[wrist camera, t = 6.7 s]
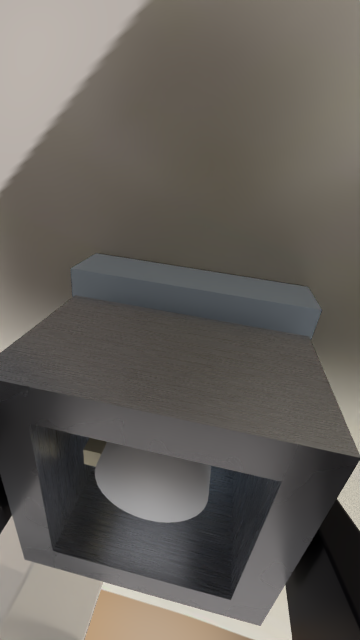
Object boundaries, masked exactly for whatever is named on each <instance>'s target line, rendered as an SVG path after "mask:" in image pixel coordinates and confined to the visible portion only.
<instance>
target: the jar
mask: <svg viewBox="0 0 360 640" xmlns="http://www.w3.org/2000/svg"><path fill="white" fill-rule="evenodd" d="M102 584H103V582H102V581H99V580H95V579H92V578H88V577H85V576H81V575H78V574H74V573H70V572H67V571H63V570H60V569H56V568H53V567H49V566H46V565H42V564H38V563H35V562H31V561H28V560H25V559H24V556H23V552H22V549H21V545H20V542H19V538H18V535H17V531H16V528H15V524H14V520H13V517H12V516H11V518H10V519H9V521H8V523H7V524H6V526H5V527H4V529H3V531H2V532H1V534H0V640H85V636H86V633H87V630H88V627H89V624H90V621H91V618H92V615H93V612H94V609H95V606H96V602H97V600H98V596H99V593H100V590H101V587H102Z"/></svg>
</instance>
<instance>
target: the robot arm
mask: <svg viewBox="0 0 360 640" xmlns="http://www.w3.org/2000/svg"><path fill="white" fill-rule="evenodd" d="M11 516H12V513H11V510H10V506H9V503H8V499H7V496H6V492H5V489H4V485H3V482H2V478H1V475H0V534H1V532H2V531H3V529H4V527H5V526H6V524H7V523H8V521H9V519H10V518H11ZM285 585H286V593H287V601H288V609H289V617H290V624H291V632H292V640H360V531H359V529H358V528H357V526H356V525H355V524H354V522H353V521H352V519H351V518H350V517H349V515H348V514H347V512H346V511H345V510H344V508H343V507H342V505H341V504H340V503H339V501H338V500H337V499H336V500H335V502H334V504H333V505H332V507H331V509H330V510H329V512H328V514H327V515H326V517H325V519H324V520H323V522H322V524H321V525H320V527H319V529H318V530H317V532H316V534H315V535H314V537H313V539H312V541H311V542H310V544H309V546H308V547H307V549H306V551H305V552H304V554H303V556H302V557H301V559H300V561H299V562H298V564H297V566H296V567H295V569H294V571H293V572H292V574H291V576H290V577H289V579H288V581H287V582H286V584H285Z"/></svg>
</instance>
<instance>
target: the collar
mask: <svg viewBox="0 0 360 640" xmlns="http://www.w3.org/2000/svg"><path fill="white" fill-rule="evenodd" d="M89 438H93V439H97V440H101V441H106V442H110V443H114V444H119V445H123V446H128V447H132V448H136V449H141V450H145V451H150V452H154V453H158V454H163V455H167V456H171V457H176V458H180V459H185V460H189V461H193V462H198V463H202V464H206V465H211V473H210V484H209V496H208V502H207V504H206V506H205V508H204V509H203V511H202V512H201V513H199V514H198V515H197V516H195V517H193V518H191V519H188V520H185V521H181V522H170V523H166V522H155V521H150V520H146V519H142V518H139V517H136V516H134V515H131V514H129V513H127V512H125V511H123V510H122V509H120V508H119V507H117V506H116V505H114V504H113V503H112V502H111V501H109V500H108V499H107V498H106V497H105V495H104V494H103V493H102V492H101V490H100V489H99V487H98V485H97V482H96V479H95V468H96V467H95V466H91V465H87V464H84V454H83V449H84V447H85V445H86V444H87V442H88V440H89ZM359 460H360V455H359V452H358V450H357V448H356V445H355V443H354V441H353V438H352V436H351V434H350V431H349V429H348V427H347V424H346V422H345V420H344V417H343V415H342V412H341V410H340V408H339V405H338V403H337V401H336V398H335V396H334V394H333V391H332V389H331V387H330V384H329V382H328V380H327V377H326V375H325V373H324V370H323V368H322V366H321V363H320V361H319V359H318V356H317V354H316V352H315V349H314V347H313V345H312V342H311V340H310V338H309V336H304V335H299V334H293V333H287V332H282V331H276V330H270V329H264V328H259V327H253V326H247V325H242V324H236V323H230V322H225V321H219V320H213V319H208V318H202V317H196V316H190V315H185V314H179V313H173V312H168V311H162V310H156V309H151V308H145V307H139V306H134V305H128V304H122V303H117V302H111V301H105V300H99V299H94V298H88V297H82V296H77V295H75V296H74V297H73V298H71V299H70V300H69V301H67V302H66V303H65V304H63V305H62V306H61V307H60V308H58V309H57V310H56V311H54V312H53V313H52V314H50V315H49V316H48V317H47V318H45V319H44V320H43V321H41V322H40V323H39V324H37V325H36V326H35V327H34V328H32V329H31V330H30V331H28V332H27V333H26V334H24V335H23V336H22V337H21V338H19V339H18V340H17V341H15V342H14V343H13V344H11V345H10V346H9V347H7V348H6V349H5V350H4V351H2V352H1V353H0V475H1V478H2V482H3V485H4V489H5V492H6V496H7V499H8V503H9V506H10V510H11V513H12V517H13V520H14V524H15V528H16V531H17V535H18V538H19V542H20V545H21V549H22V552H23V556H24V559H25V560H28V561H31V562H35V563H38V564H42V565H46V566H49V567H53V568H56V569H60V570H63V571H67V572H70V573H74V574H78V575H81V576H85V577H88V578H92V579H95V580H99V581H102V582H106V583H110V584H113V585H117V586H120V587H124V588H127V589H131V590H134V591H138V592H142V593H145V594H149V595H152V596H156V597H159V598H163V599H166V600H170V601H174V602H177V603H181V604H184V605H188V606H191V607H195V608H198V609H202V610H206V611H209V612H213V613H216V614H220V615H223V616H227V617H230V618H234V619H238V620H241V621H245V622H248V623H252V624H255V625H259V626H261V624H262V622H263V621H264V619H265V617H266V616H267V614H268V612H269V611H270V609H271V607H272V606H273V604H274V602H275V601H276V599H277V597H278V596H279V594H280V592H281V591H282V589H283V587H284V586H285V584H286V582H287V581H288V579H289V577H290V576H291V574H292V572H293V571H294V569H295V567H296V566H297V564H298V562H299V561H300V559H301V557H302V556H303V554H304V552H305V551H306V549H307V547H308V546H309V544H310V542H311V541H312V539H313V537H314V535H315V534H316V532H317V530H318V529H319V527H320V525H321V524H322V522H323V520H324V519H325V517H326V515H327V514H328V512H329V510H330V509H331V507H332V505H333V504H334V502H335V500H336V499H337V497H338V495H339V494H340V492H341V490H342V489H343V487H344V485H345V484H346V482H347V480H348V479H349V477H350V475H351V474H352V472H353V470H354V469H355V467H356V465H357V464H358V462H359Z"/></svg>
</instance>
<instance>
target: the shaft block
mask: <svg viewBox="0 0 360 640" xmlns="http://www.w3.org/2000/svg"><path fill="white" fill-rule="evenodd" d="M70 269H71V283H72V297H74V296H75V295H77V296H82V297H88V298H94V299H99V300H105V301H111V302H117V303H122V304H128V305H134V306H139V307H145V308H151V309H156V310H162V311H168V312H173V313H179V314H185V315H190V316H196V317H202V318H208V319H213V320H219V321H225V322H230V323H236V324H242V325H247V326H253V327H259V328H264V329H270V330H276V331H282V332H287V333H293V334H299V335H304V336H309V338H310V340H311V339H312V336H313V333H314V331H315V328H316V325H317V323H318V320H319V317H320V315H321V312H322V309H321V307H320V306H319V304H318V302H317V301H316V299H315V297H314V296H313V294H312V293H311V291H310V289H309V288H308V287H306V286H300V285H294V284H287V283H281V282H275V281H268V280H262V279H256V278H250V277H243V276H237V275H231V274H224V273H218V272H212V271H205V270H199V269H193V268H186V267H180V266H174V265H168V264H161V263H155V262H149V261H142V260H136V259H130V258H123V257H117V256H111V255H104V254H98V253H96V254H94V255H92V256H91V257H89V258H87V259H86V260H84V261H82V262H80V263H79V264H77V265H75V266H74V267H72V268H70ZM83 454H84V464H87V465H91V466H95V467H96V468H95V479H96V482H97V485H98V487H99V489H100V490H101V492H102V493H103V494H104V495H105V497H106V498H107V499H108V500H109V501H111V502H112V503H113V504H114V505H116V506H117V507H119V508H120V509H122V510H123V511H125V512H127V513H129V514H131V515H134V516H136V517H139V518H142V519H146V520H150V521H155V522H166V523H170V522H181V521H185V520H188V519H191V518H193V517H195V516H197V515H198V514H199V513H201V512H202V511H203V509H204V508H205V506H206V504H207V502H208V496H209V484H210V473H211V465H206V464H202V463H198V462H193V461H189V460H185V459H180V458H176V457H171V456H167V455H163V454H158V453H154V452H150V451H145V450H141V449H136V448H132V447H128V446H123V445H119V444H114V443H110V442H106V441H101V440H97V439H93V438H89V440H88V442H87V444H86V445H85V447H84V449H83Z"/></svg>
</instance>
